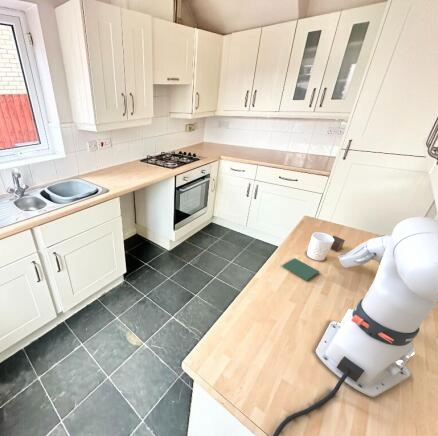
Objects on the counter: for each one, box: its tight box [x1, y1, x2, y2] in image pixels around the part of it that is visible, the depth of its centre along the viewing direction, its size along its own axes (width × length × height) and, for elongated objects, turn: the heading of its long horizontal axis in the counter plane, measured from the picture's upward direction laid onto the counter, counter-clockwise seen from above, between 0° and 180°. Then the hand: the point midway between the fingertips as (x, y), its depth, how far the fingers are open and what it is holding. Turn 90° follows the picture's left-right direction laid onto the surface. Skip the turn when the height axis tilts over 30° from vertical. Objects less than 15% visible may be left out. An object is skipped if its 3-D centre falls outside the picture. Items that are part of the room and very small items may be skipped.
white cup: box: [306, 231, 334, 262], centre depth 105 cm, size 8×8×10 cm
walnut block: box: [330, 235, 346, 252], centre depth 111 cm, size 4×4×4 cm
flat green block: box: [282, 258, 320, 282], centre depth 99 cm, size 8×10×1 cm
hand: (340, 257), depth 98 cm, fingers closed
